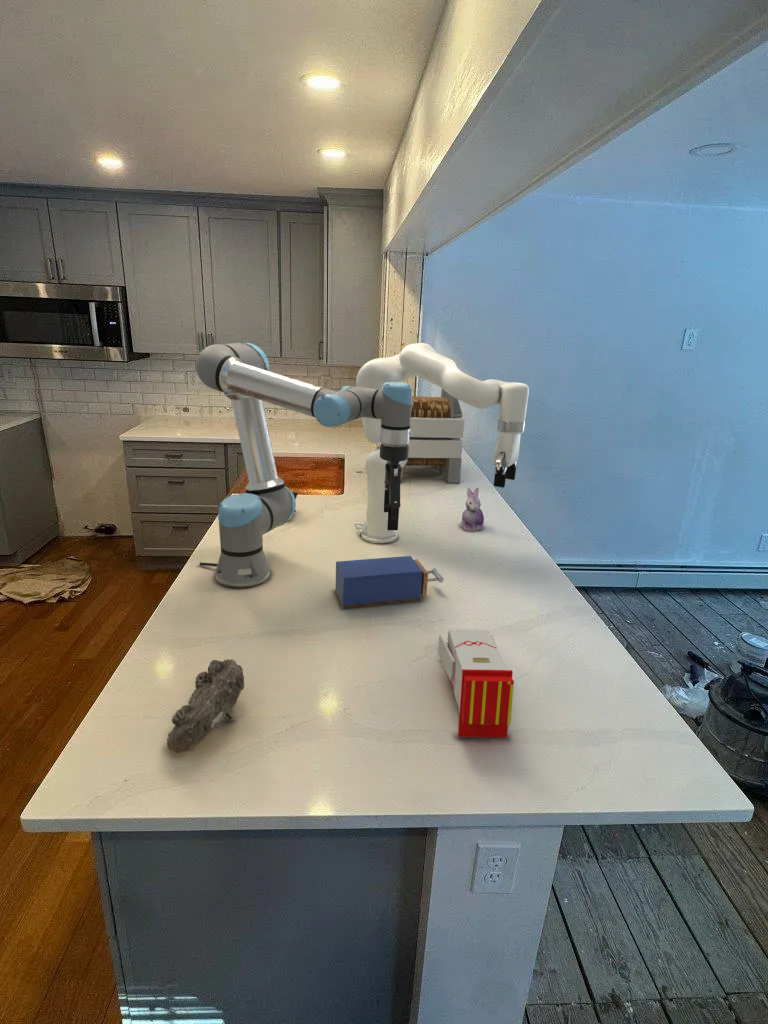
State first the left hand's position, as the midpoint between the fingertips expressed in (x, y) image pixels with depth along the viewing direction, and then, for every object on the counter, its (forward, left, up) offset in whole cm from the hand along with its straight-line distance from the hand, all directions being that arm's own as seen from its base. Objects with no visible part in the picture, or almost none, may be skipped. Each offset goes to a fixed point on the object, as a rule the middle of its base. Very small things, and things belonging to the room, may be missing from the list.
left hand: (390, 520), depth 154 cm
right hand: (+29, +26, +6) cm, 40 cm away
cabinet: (-2, -5, -21) cm, 21 cm away
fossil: (-21, -62, -21) cm, 68 cm away
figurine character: (-48, +45, -21) cm, 69 cm away
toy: (+27, -40, -21) cm, 52 cm away
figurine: (+20, +57, -21) cm, 63 cm away
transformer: (-11, +122, -21) cm, 124 cm away
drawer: (+3, -3, -20) cm, 20 cm away
